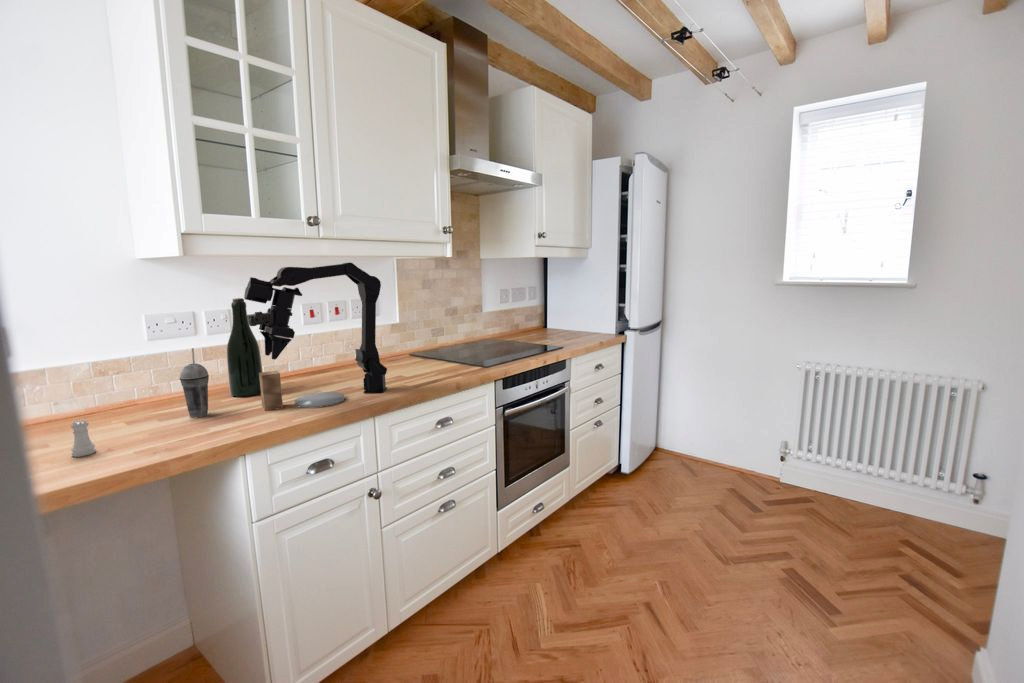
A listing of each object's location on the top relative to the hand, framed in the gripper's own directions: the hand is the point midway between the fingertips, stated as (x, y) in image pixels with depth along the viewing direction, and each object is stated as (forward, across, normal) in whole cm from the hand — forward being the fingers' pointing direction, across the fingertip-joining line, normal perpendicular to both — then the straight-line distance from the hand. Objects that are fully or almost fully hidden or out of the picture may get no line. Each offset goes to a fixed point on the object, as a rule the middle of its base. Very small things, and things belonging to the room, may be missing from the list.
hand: (270, 357), depth 149 cm
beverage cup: (+21, -7, -14) cm, 26 cm away
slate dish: (+12, +1, +17) cm, 21 cm away
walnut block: (+16, -1, +4) cm, 16 cm away
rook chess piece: (+28, +12, -38) cm, 48 cm away
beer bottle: (+16, -26, +1) cm, 31 cm away
